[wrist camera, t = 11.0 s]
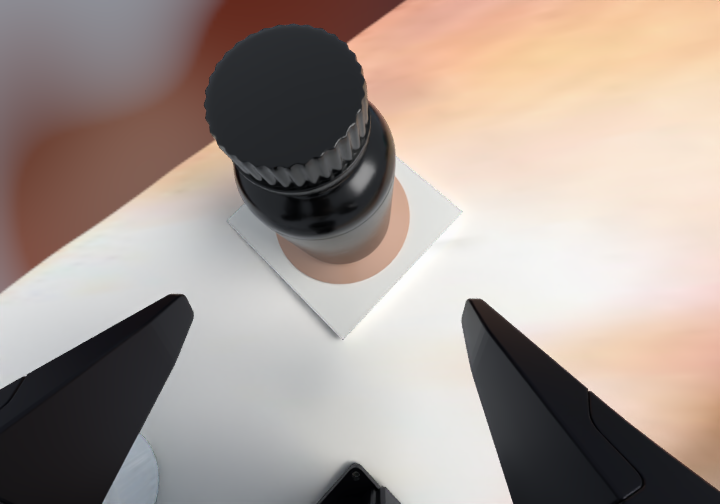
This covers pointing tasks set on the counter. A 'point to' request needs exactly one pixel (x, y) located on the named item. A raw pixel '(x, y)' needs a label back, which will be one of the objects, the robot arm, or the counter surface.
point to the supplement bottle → (305, 140)
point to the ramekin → (136, 477)
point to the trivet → (364, 277)
